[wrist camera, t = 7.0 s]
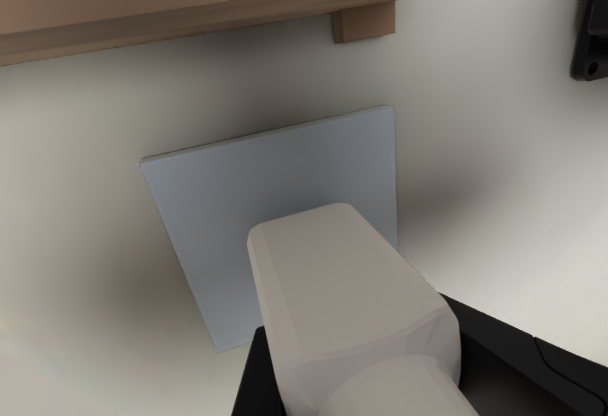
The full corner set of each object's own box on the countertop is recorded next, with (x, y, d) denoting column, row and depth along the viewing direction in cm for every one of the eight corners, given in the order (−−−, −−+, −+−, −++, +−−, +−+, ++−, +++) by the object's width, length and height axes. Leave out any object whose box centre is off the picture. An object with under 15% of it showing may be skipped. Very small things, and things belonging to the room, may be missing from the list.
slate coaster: (386, 104, 12) (394, 107, 12) (392, 285, 16) (398, 292, 16) (142, 158, 11) (139, 163, 10) (216, 342, 15) (217, 353, 14)
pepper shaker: (357, 277, 14) (593, 620, 5) (264, 307, 13) (370, 753, 5) (348, 192, 12) (686, 508, 3) (240, 221, 11) (340, 698, 3)
